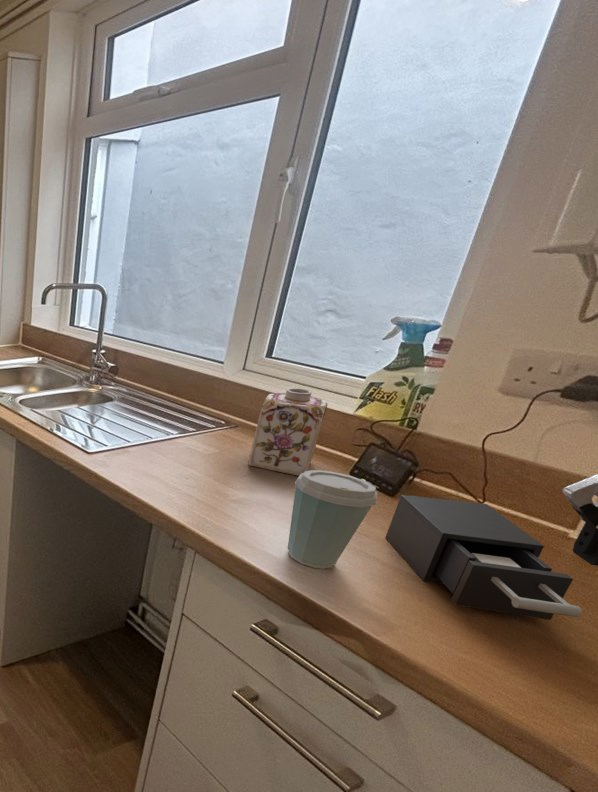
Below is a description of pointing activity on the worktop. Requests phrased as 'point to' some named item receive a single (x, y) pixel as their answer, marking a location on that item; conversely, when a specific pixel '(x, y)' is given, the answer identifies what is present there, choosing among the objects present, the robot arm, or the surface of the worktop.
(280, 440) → the decorative jar
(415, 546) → the black cabinet
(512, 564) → the block
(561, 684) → the worktop surface
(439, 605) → the worktop surface
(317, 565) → the disposable coffee cup
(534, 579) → the drawer
